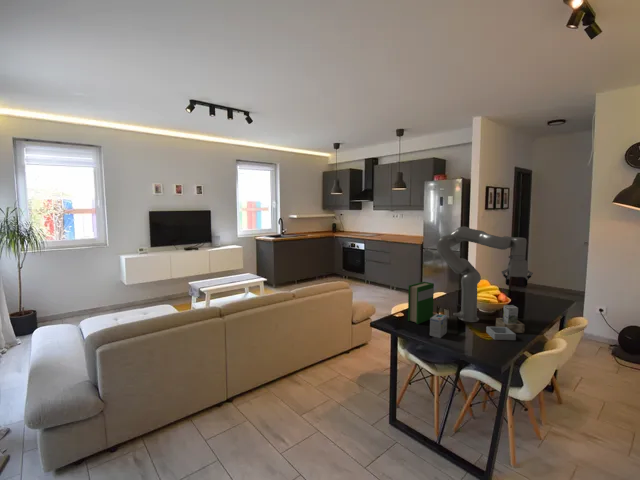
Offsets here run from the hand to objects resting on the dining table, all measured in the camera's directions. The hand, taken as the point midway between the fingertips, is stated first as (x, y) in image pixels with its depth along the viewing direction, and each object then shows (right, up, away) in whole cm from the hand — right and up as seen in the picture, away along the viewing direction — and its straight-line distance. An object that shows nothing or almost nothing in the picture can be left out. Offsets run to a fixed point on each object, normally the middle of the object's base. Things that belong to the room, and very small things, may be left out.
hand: (516, 285), depth 204 cm
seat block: (-15, -28, -10) cm, 33 cm away
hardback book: (-53, -26, +18) cm, 62 cm away
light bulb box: (-50, -28, -7) cm, 58 cm away
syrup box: (-4, -27, 0) cm, 27 cm away
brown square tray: (-4, -27, 0) cm, 27 cm away
